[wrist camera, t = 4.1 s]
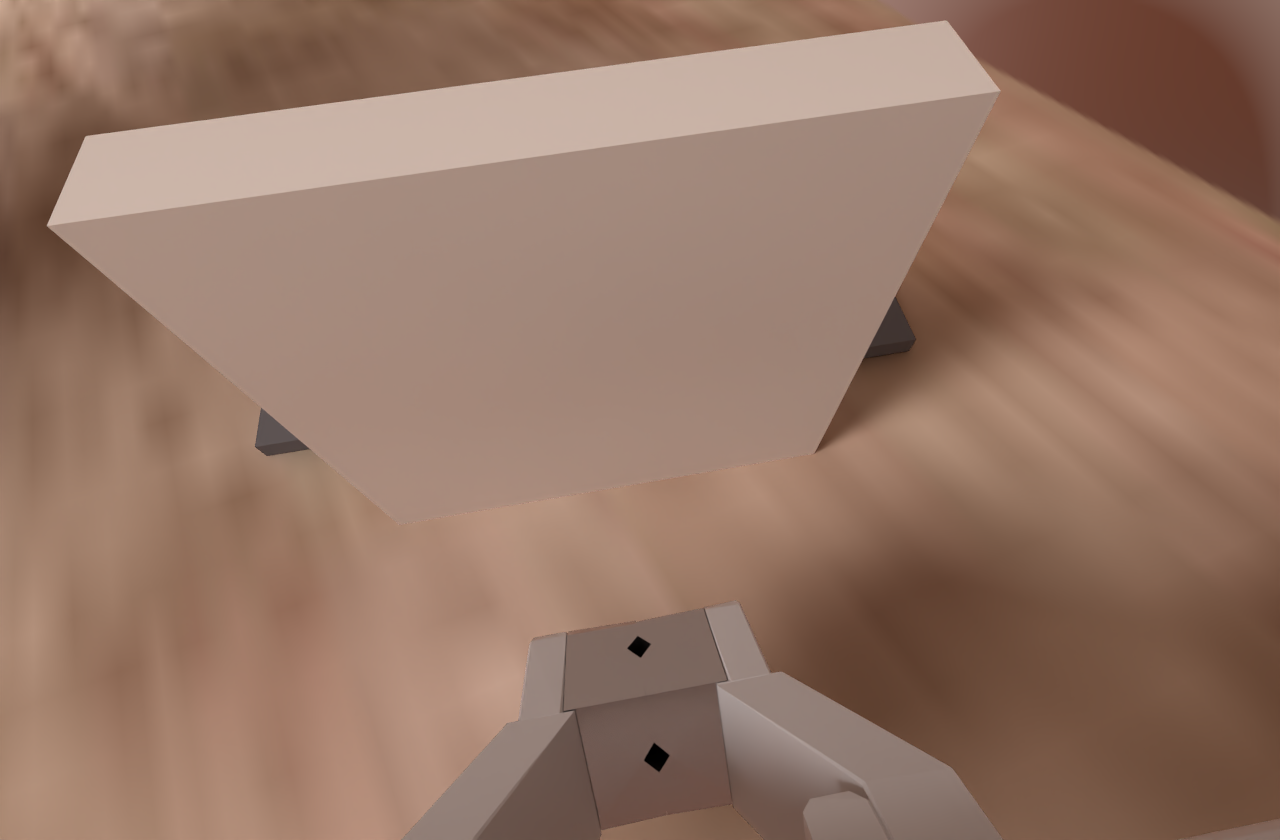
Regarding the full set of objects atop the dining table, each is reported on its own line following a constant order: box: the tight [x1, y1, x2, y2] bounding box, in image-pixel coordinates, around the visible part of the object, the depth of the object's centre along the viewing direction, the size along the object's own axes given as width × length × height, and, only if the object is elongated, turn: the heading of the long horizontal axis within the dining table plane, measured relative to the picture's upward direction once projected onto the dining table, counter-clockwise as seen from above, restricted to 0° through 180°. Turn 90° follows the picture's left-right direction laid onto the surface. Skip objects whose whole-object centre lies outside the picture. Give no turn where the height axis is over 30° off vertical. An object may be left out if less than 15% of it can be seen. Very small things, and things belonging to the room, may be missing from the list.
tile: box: [47, 20, 1000, 525], centre depth 13 cm, size 2×12×11 cm, turn 100°
